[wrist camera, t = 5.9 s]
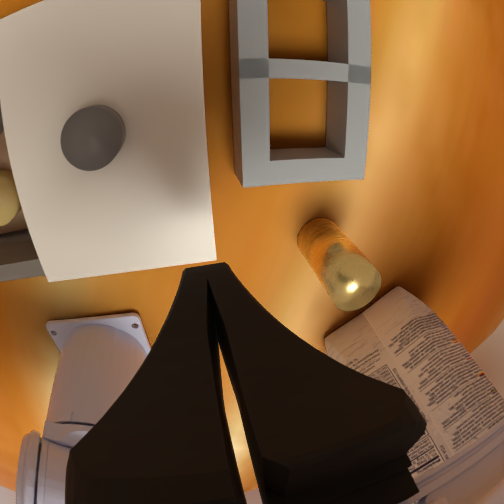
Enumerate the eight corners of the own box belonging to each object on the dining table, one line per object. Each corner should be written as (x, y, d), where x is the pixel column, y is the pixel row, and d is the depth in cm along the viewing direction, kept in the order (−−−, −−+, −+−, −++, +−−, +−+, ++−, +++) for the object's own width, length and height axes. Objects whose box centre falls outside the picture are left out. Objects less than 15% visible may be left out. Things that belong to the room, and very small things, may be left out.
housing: (154, 221, 18) (149, 261, 14) (-16, 251, 16) (-44, 288, 12) (134, 6, 11) (119, -16, 8) (-55, 78, 9) (-96, 87, 5)
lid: (211, 237, 16) (219, 272, 14) (60, 258, 15) (42, 294, 12) (196, -17, 10) (202, -41, 7) (19, 25, 8) (-15, 18, 5)
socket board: (344, 166, 19) (363, 179, 17) (234, 173, 18) (243, 187, 16) (346, -13, 13) (368, -22, 11) (228, -26, 11) (236, -41, 9)
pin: (334, 252, 22) (375, 305, 17) (296, 258, 22) (330, 315, 17) (339, 215, 21) (386, 263, 16) (298, 219, 20) (337, 271, 15)
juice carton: (307, 339, 27) (432, 616, 4) (403, 269, 25) (580, 517, 3) (342, 373, 31) (442, 581, 9) (421, 318, 30) (549, 510, 7)
